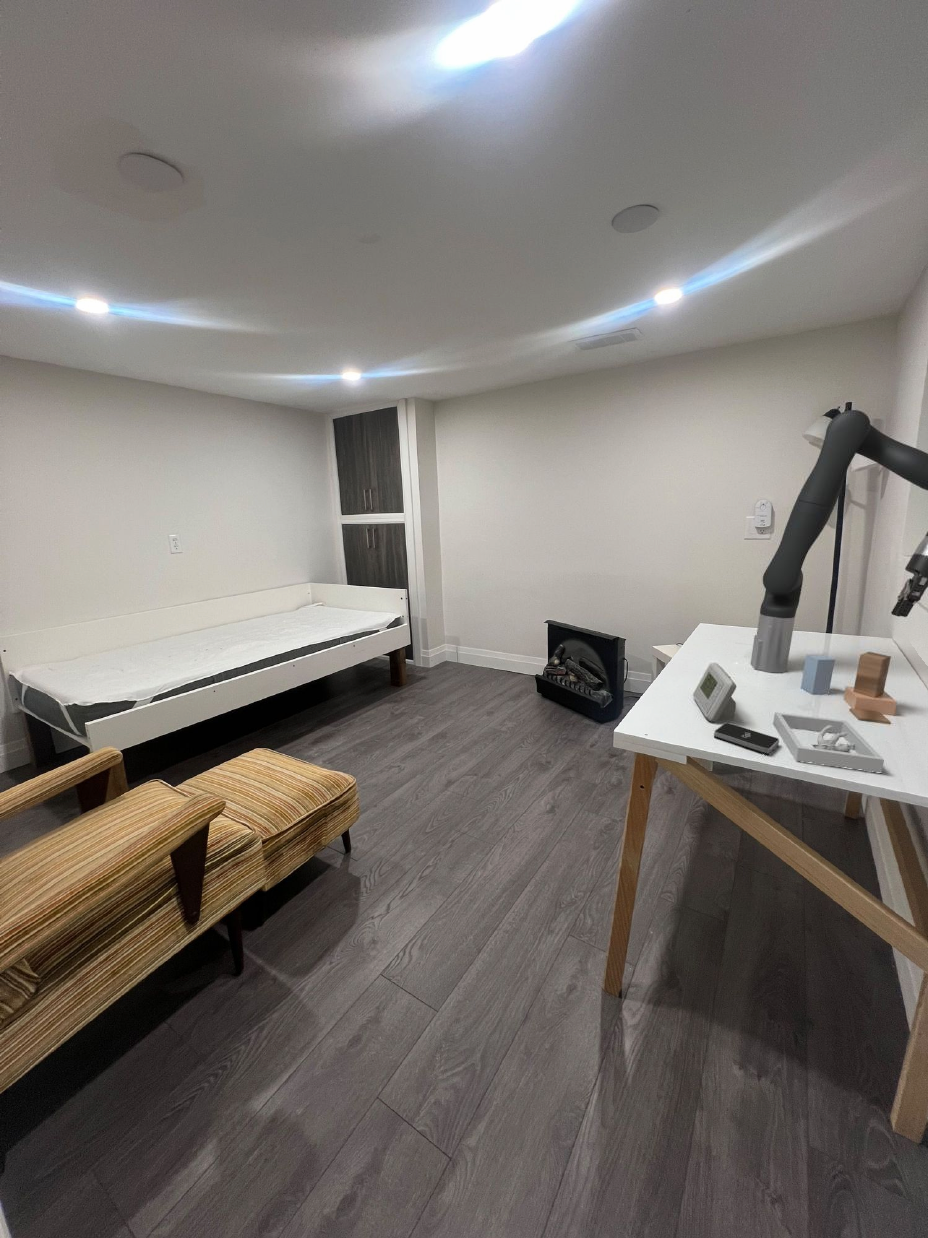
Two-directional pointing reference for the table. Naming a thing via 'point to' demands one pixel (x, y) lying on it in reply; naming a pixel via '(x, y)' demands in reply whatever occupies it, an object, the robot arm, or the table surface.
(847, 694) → the terracotta block
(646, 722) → the table surface
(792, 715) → the grey display tray
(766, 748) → the external hard drive
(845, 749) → the soldier figure
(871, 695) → the walnut pillar
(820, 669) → the slate pillar
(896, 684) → the table surface
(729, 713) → the digital clock
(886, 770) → the table surface
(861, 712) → the walnut swatch
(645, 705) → the table surface
